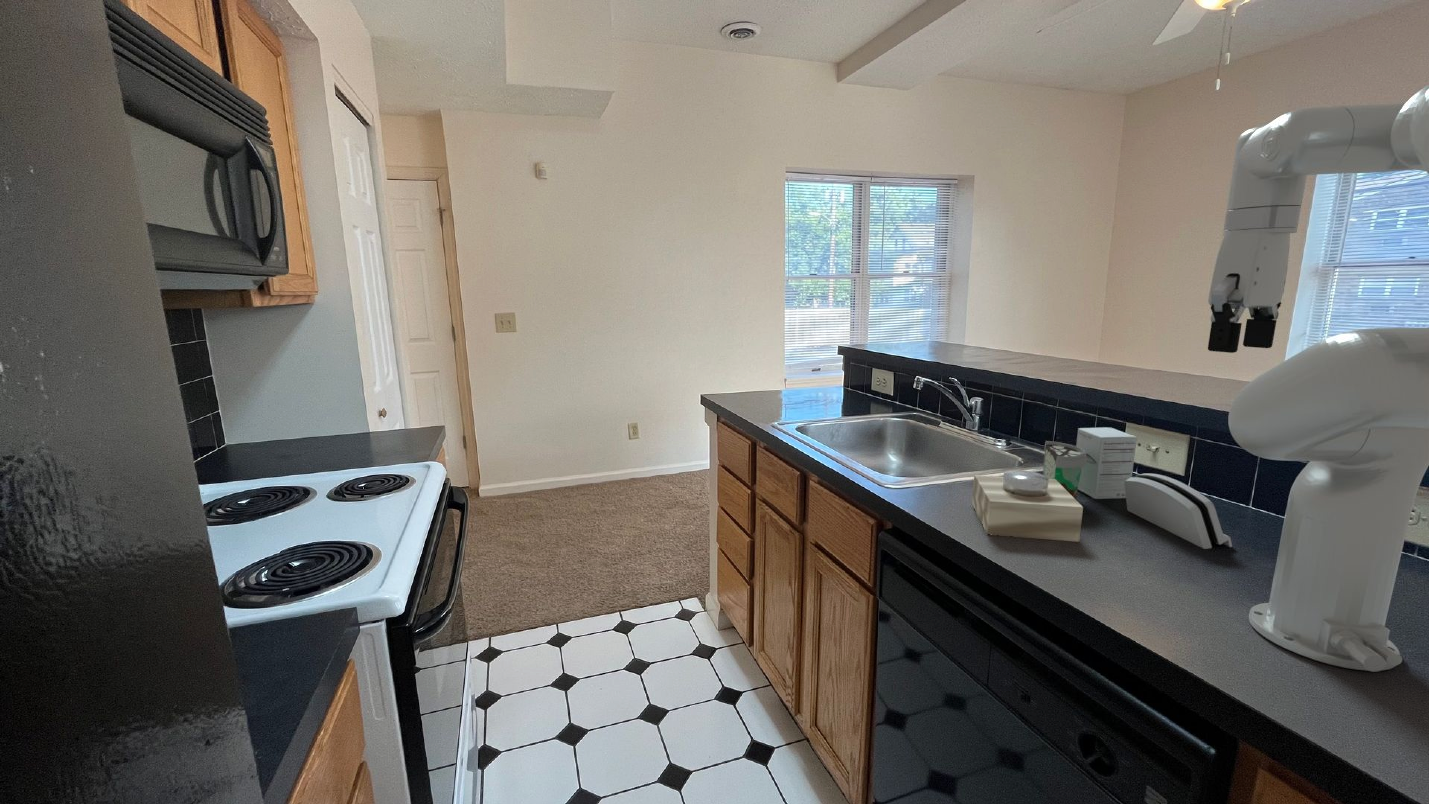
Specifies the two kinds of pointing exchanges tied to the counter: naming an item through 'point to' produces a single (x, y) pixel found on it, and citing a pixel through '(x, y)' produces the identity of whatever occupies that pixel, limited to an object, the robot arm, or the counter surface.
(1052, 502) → the block
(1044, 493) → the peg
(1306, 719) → the counter surface
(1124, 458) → the supplement box
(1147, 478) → the white curved block
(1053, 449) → the food container
